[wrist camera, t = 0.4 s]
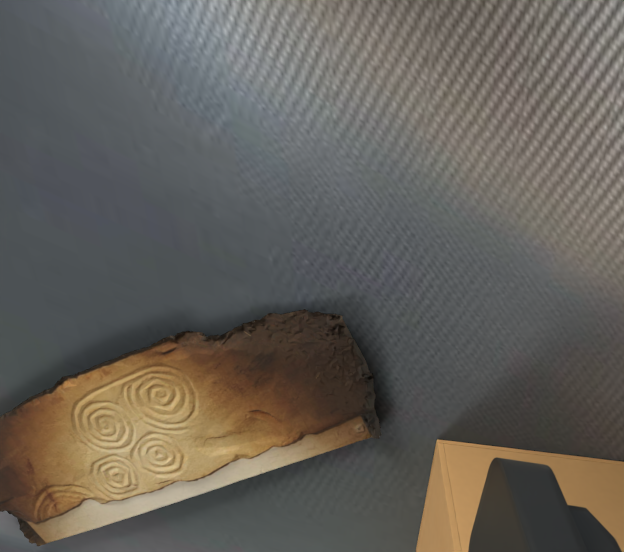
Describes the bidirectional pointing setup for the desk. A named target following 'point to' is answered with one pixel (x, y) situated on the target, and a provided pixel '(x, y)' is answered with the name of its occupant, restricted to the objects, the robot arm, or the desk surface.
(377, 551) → the desk surface
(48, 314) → the desk surface
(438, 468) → the carton
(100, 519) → the rustic wooden board
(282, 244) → the desk surface
